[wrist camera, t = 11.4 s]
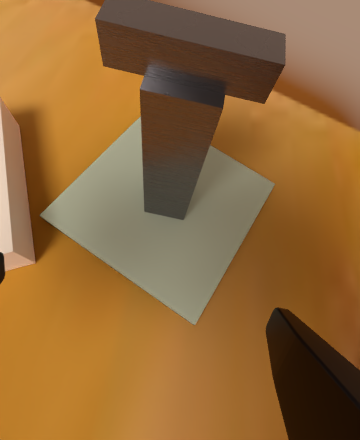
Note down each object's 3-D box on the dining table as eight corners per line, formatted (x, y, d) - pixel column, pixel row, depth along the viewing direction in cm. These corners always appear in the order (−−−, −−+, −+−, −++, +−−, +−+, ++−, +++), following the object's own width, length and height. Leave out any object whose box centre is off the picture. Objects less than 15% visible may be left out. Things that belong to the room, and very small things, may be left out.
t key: (203, 224, 18) (285, 80, 7) (124, 207, 18) (87, 32, 7) (208, 190, 20) (285, 22, 9) (134, 174, 19) (116, -21, 8)
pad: (272, 187, 21) (275, 184, 21) (193, 324, 16) (195, 325, 16) (148, 113, 23) (148, 108, 22) (42, 218, 18) (39, 215, 17)
